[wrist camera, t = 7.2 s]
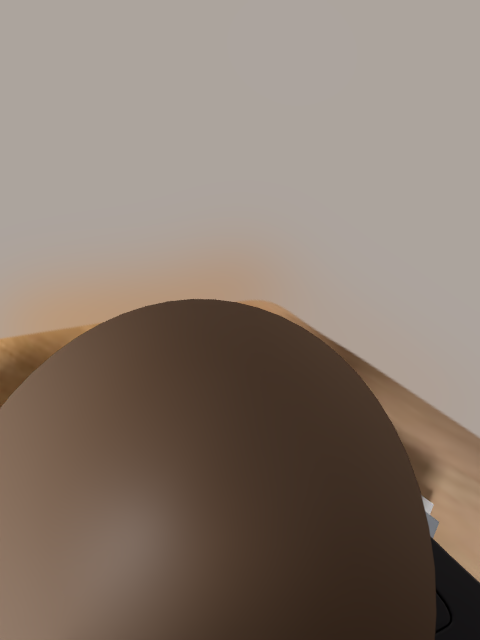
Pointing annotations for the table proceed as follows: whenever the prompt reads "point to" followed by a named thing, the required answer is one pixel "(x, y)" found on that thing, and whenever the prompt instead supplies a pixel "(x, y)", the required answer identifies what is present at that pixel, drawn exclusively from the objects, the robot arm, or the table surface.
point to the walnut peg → (207, 489)
